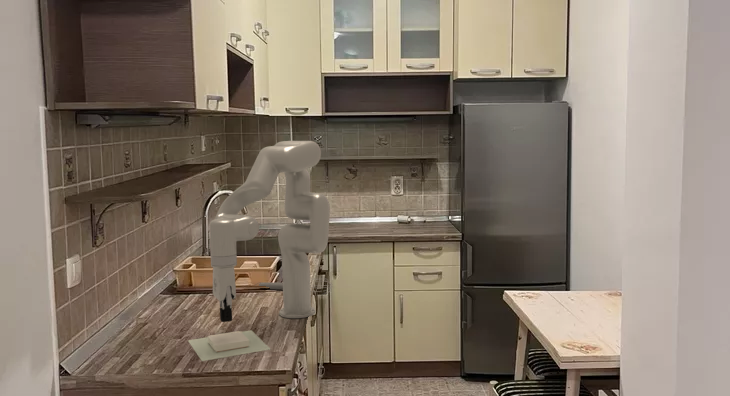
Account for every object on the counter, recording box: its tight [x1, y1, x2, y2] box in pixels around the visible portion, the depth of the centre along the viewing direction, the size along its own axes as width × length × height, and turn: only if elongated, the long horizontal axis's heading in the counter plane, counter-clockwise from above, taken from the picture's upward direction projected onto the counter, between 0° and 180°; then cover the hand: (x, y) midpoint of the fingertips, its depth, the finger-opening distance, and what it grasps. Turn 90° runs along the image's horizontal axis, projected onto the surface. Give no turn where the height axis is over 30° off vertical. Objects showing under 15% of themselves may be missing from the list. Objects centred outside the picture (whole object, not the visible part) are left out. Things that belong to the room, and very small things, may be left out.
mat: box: [187, 329, 271, 362], centre depth 196 cm, size 20×20×1 cm
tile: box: [207, 330, 249, 352], centre depth 196 cm, size 2×10×10 cm
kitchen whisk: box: [256, 277, 333, 295], centre depth 259 cm, size 6×34×6 cm, turn 69°
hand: (226, 320), depth 196 cm, fingers closed
